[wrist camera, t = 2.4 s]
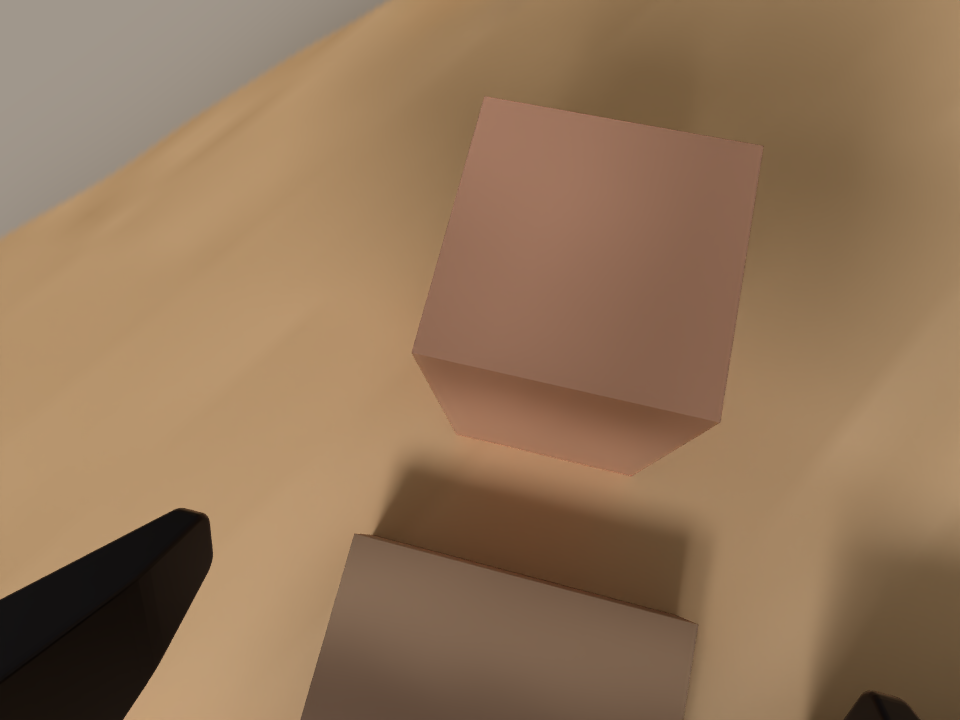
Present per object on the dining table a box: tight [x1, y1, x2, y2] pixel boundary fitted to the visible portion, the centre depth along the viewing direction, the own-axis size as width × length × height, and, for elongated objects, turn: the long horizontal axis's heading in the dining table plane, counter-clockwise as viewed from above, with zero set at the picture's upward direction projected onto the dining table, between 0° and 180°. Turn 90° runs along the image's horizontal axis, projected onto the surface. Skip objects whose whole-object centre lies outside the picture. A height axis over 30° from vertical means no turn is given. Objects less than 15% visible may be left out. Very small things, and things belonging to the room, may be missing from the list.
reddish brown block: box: [412, 96, 764, 476], centre depth 18 cm, size 6×6×10 cm
